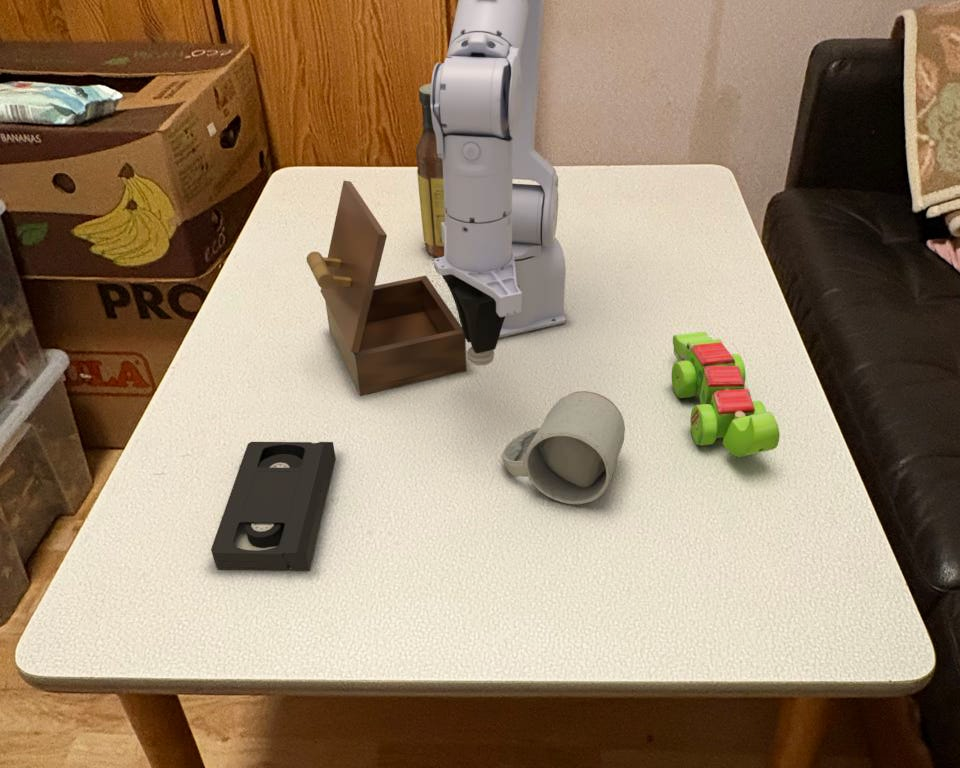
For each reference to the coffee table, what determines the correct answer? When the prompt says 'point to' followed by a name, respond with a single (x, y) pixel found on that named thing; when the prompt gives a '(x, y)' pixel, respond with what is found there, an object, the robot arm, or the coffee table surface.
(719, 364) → the toy crocodile
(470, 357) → the pawn
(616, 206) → the coffee table surface
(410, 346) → the box
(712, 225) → the coffee table surface
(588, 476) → the ceramic mug
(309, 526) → the vhs tape
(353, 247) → the lid
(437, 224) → the sauce bottle
